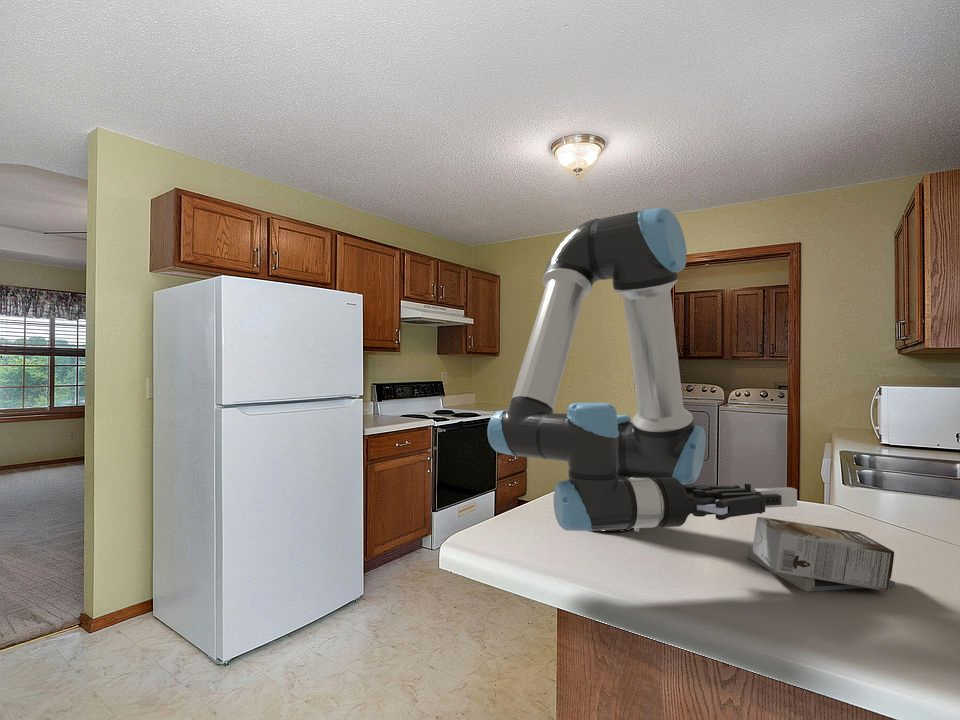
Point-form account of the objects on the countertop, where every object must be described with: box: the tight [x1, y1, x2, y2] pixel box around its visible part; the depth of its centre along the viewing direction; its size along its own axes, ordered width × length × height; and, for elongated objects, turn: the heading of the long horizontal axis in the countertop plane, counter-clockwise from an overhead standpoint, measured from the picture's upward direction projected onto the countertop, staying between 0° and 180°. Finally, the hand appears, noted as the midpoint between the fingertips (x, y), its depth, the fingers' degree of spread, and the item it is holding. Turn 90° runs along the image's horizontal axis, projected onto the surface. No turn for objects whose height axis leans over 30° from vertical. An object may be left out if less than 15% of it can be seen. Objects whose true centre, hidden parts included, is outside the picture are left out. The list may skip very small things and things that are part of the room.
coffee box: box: [752, 516, 895, 592], centre depth 83 cm, size 9×6×16 cm
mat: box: [747, 545, 896, 593], centre depth 87 cm, size 14×15×2 cm
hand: (793, 496), depth 85 cm, fingers closed
